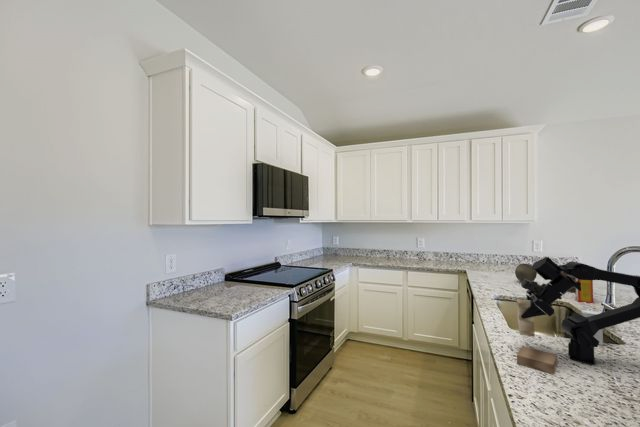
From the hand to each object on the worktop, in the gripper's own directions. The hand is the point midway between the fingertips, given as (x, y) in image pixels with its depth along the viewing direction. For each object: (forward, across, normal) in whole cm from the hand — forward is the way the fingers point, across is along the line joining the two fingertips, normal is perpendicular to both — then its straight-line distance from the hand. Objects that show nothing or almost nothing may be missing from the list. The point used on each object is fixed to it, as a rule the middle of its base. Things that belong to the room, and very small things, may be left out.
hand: (520, 315), depth 112 cm
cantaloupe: (-4, -139, +23) cm, 141 cm away
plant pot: (-21, -122, +41) cm, 130 cm away
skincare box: (-9, -22, +28) cm, 37 cm away
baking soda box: (-21, -96, +40) cm, 106 cm away
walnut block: (+8, +10, +12) cm, 17 cm away
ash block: (+4, 0, +6) cm, 7 cm away
